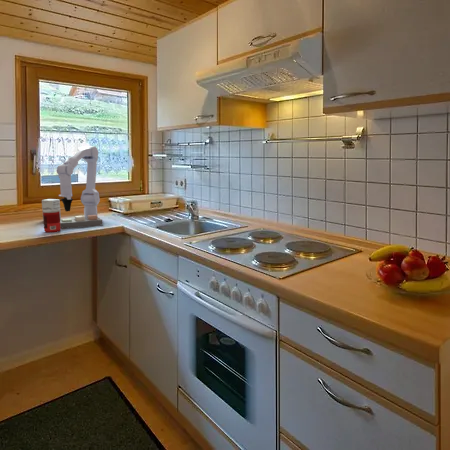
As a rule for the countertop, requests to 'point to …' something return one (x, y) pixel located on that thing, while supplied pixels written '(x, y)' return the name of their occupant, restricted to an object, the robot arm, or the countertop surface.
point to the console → (81, 223)
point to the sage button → (66, 220)
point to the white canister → (51, 205)
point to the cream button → (79, 218)
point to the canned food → (51, 221)
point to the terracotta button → (92, 217)
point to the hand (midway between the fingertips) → (67, 211)
